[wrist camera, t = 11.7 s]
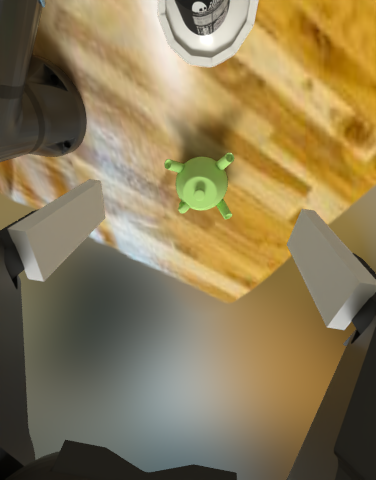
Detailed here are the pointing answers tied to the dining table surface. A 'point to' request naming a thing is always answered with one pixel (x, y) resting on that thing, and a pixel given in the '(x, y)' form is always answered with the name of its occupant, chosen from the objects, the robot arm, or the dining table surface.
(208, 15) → the beverage can
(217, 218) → the dining table surface
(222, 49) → the saucer
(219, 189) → the green rounded body
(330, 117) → the dining table surface
